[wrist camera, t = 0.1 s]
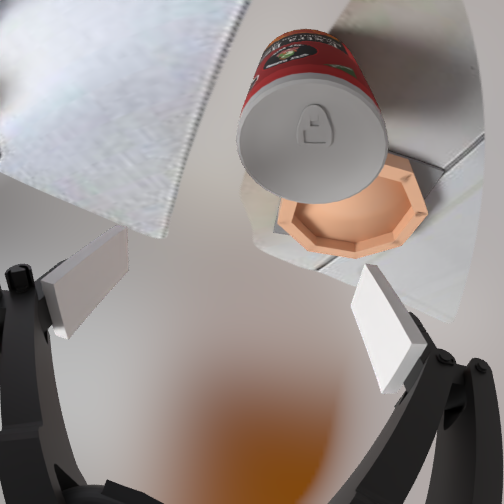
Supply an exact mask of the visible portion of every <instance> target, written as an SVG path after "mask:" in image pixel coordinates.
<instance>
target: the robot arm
mask: <svg viewBox="0 0 504 504" xmlns="http://www.w3.org/2000/svg"><path fill="white" fill-rule="evenodd" d="M128 271H129V261H128V237H127V227H126V226H120V225H115V226H114V227H112V228H111V229H109V230H108V231H106V232H105V233H103V234H102V235H100V236H99V237H97V238H96V239H95V240H93V241H92V242H90V243H89V244H88V245H86V246H85V247H83V248H82V249H81V250H80V251H78V252H77V253H75V254H74V255H72V256H71V257H70V258H68V259H66V260H63V261H61V262H59V263H58V264H57V265H55V266H54V268H52V269H50V270H49V272H46V273H45V274H44V275H43V276H41V277H40V278H39V279H37V281H35V282H34V279H33V274H32V269H31V266H29V265H28V264H18V265H15V266H13V267H10V268H9V269H8V270H7V271H6V272H5V277H6V280H7V284H8V288H9V291H7V290H2V289H1V286H0V400H1V418H2V431H0V481H1V486H2V490H3V494H4V498H5V502H6V504H164V503H162V502H160V501H158V500H156V499H154V498H152V497H150V496H148V495H146V494H145V493H143V492H140V491H137V490H134V489H131V488H128V487H125V486H122V485H120V484H117V483H115V482H112V481H109V480H106V483H105V486H104V485H87V483H86V481H85V479H84V477H83V476H82V474H81V472H80V471H79V469H78V467H77V465H76V461H75V459H74V456H73V452H72V449H71V446H70V443H69V439H68V436H67V432H66V428H65V424H64V420H63V416H62V412H61V408H60V403H59V398H58V393H57V388H56V382H55V375H54V369H53V362H52V354H51V344H50V335H49V332H48V328H49V327H50V326H51V325H53V328H54V331H55V334H56V335H57V336H60V337H63V338H65V339H67V340H69V339H70V337H71V336H72V335H73V334H74V332H75V331H76V330H77V329H78V328H79V326H80V325H81V324H82V323H83V322H84V320H85V319H86V318H87V317H88V316H89V315H90V313H91V312H92V311H93V310H94V309H95V307H97V305H98V304H99V303H100V302H101V301H102V300H103V299H104V297H105V296H106V295H107V294H108V293H109V292H110V290H112V289H113V287H114V286H115V285H116V284H117V283H118V282H119V281H120V280H121V279H122V277H123V276H124V275H125V274H126V273H127V272H128ZM351 309H352V311H353V314H354V317H355V319H356V322H357V324H358V327H359V329H360V332H361V335H362V338H363V341H364V343H365V346H366V349H367V351H368V354H369V357H370V360H371V363H372V366H373V369H374V372H375V375H376V378H377V381H378V384H379V387H380V390H381V393H382V394H385V393H397V392H398V391H399V389H400V388H401V386H402V385H403V383H404V385H405V388H406V391H405V392H404V394H403V395H402V397H401V398H400V399H399V401H398V402H397V404H396V405H395V410H394V411H393V413H392V415H391V417H390V419H389V420H388V422H387V423H386V425H385V427H384V428H383V430H382V432H381V433H380V435H379V437H378V438H377V439H376V441H375V442H374V444H373V445H372V447H371V449H370V450H369V451H368V453H367V454H366V456H365V457H364V459H363V460H362V461H361V463H360V464H359V466H358V467H357V468H356V470H355V471H354V472H353V473H352V475H351V476H350V478H349V479H348V480H347V481H346V483H345V484H344V485H343V486H342V487H341V489H340V490H339V491H338V492H337V493H336V495H335V496H334V497H333V498H332V499H331V500H330V502H329V503H328V504H403V502H404V500H405V498H406V497H407V495H408V493H409V491H410V490H411V488H412V486H413V484H414V482H415V480H416V478H417V476H418V474H419V472H420V470H421V467H422V465H423V463H424V461H425V459H426V456H427V454H428V452H429V449H430V447H431V444H432V442H433V440H434V437H435V434H436V432H437V439H436V448H435V455H434V462H433V469H432V474H431V480H430V485H429V490H428V494H427V499H426V503H425V504H502V503H501V502H502V490H503V449H502V434H501V424H500V415H499V408H498V401H497V395H496V390H495V384H494V379H493V374H492V370H491V368H490V367H489V365H488V364H487V362H485V361H484V360H481V359H479V358H473V359H471V361H470V362H469V363H468V365H467V366H463V365H459V364H456V361H455V358H454V357H453V356H452V355H451V354H450V353H449V352H447V351H445V350H443V349H437V348H436V346H435V344H434V343H433V341H432V340H431V338H430V336H429V334H428V333H427V332H426V330H425V328H424V327H423V325H422V323H421V322H420V320H419V319H418V318H417V317H416V316H415V315H414V314H413V313H411V312H408V311H407V310H406V308H405V306H404V305H403V303H402V302H401V300H400V299H399V297H398V296H397V294H396V293H395V291H394V290H393V288H392V287H391V285H390V284H389V282H388V281H387V279H386V278H385V276H384V275H383V273H382V272H381V271H380V269H379V268H378V266H377V265H370V264H364V267H363V271H362V274H361V277H360V280H359V283H358V286H357V289H356V292H355V294H354V297H353V300H352V303H351Z"/></svg>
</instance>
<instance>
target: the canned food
mask: <svg viewBox="0 0 504 504" xmlns="http://www.w3.org/2000/svg"><path fill="white" fill-rule="evenodd" d="M236 143H237V151H238V155H239V157H240V160H241V163H242V165H243V166H244V168H245V169H246V171H247V173H248V174H249V175H250V176H251V177H252V178H253V179H254V180H255V182H256V183H258V184H259V185H260V186H262V187H263V188H264V189H265V190H267V191H269V192H271V193H273V194H274V195H276V196H279V197H281V198H284V199H287V200H290V201H294V202H299V203H306V204H326V203H332V202H338V201H341V200H344V199H347V198H350V197H352V196H354V195H356V194H358V193H360V192H361V191H362V190H364V189H365V188H366V187H368V186H369V185H370V184H371V183H372V182H373V181H374V180H375V179H376V178H377V177H378V175H379V173H380V172H381V170H382V168H383V167H384V164H385V161H386V158H387V155H388V143H389V142H388V136H387V130H386V125H385V121H384V119H383V117H382V114H381V111H380V109H379V106H378V104H377V102H376V100H375V98H374V96H373V94H372V91H371V89H370V87H369V85H368V83H367V81H366V80H365V78H364V76H363V74H362V72H361V70H360V68H359V66H358V64H357V63H356V61H355V59H354V57H353V56H352V54H351V52H350V51H349V50H348V48H347V47H346V46H345V45H344V44H343V43H342V42H341V41H339V40H338V39H337V38H335V37H333V36H331V35H329V34H327V33H325V32H321V31H318V30H311V29H301V30H293V31H291V32H287V33H284V34H283V35H281V36H279V37H277V38H276V39H275V40H274V41H272V42H271V43H270V44H269V45H268V47H267V48H266V50H265V51H264V53H263V55H262V57H261V60H260V63H259V65H258V68H257V70H256V73H255V76H254V78H253V81H252V83H251V86H250V89H249V92H248V94H247V97H246V100H245V103H244V105H243V108H242V111H241V115H240V118H239V121H238V129H237V137H236Z"/></svg>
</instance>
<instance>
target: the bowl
mask: <svg viewBox="0 0 504 504" xmlns="http://www.w3.org/2000/svg"><path fill="white" fill-rule="evenodd" d="M427 215H428V211H427V208H426V204H425V201H424V198H423V195H422V192H421V190H420V187H419V184H418V182H417V179H416V177H415V174H414V172H413V169H412V167H411V164H410V162H409V160H408V159H406V158H402V157H399V156H396V155H393V154H389V153H388V155H387V158H386V161H385V164H384V167H383V168H382V170H381V172H380V173H379V175H378V177H377V178H376V179H375V180H374V181H373V182H372V183H371V184H370V185H369V186H368V187H366V188H365V189H364V190H362V191H361V192H360V193H358V194H356V195H354V196H352V197H350V198H347V199H344V200H341V201H338V202H332V203H326V204H306V203H299V202H294V201H290V200H287V199H284V198H281V202H280V206H279V211H278V221H277V224H278V225H279V226H281V227H282V228H283V229H284V230H285V231H286V232H287V233H288V234H290V235H291V236H292V237H293V238H294V239H295V240H296V241H297V242H298V243H300V244H301V245H302V246H303V247H304V248H305V249H306V250H307V251H310V252H317V253H323V254H329V255H335V256H342V257H348V258H354V259H357V258H360V257H364V256H367V255H371V254H375V253H378V252H382V251H385V250H389V249H392V248H396V247H399V246H402V245H403V244H404V242H405V241H406V240H407V239H408V238H409V237H410V235H411V234H412V233H413V232H414V231H415V229H416V228H417V227H418V226H419V225H420V223H421V222H422V221H423V220H424V218H425V217H426V216H427Z"/></svg>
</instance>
